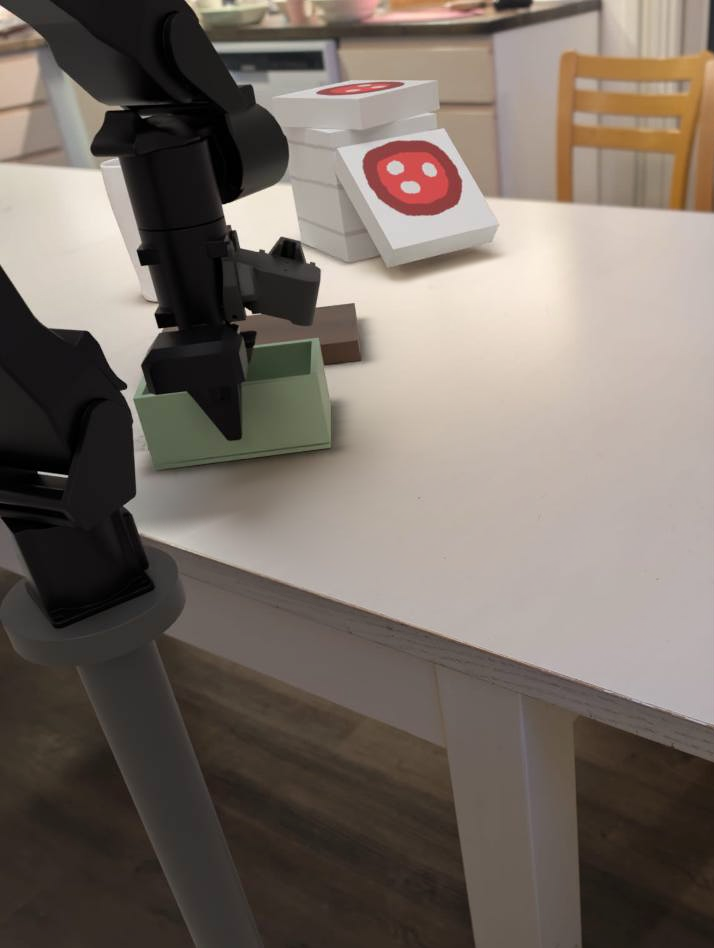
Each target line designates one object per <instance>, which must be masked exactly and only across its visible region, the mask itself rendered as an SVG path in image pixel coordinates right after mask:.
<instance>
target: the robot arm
mask: <svg viewBox="0 0 714 948" xmlns="http://www.w3.org/2000/svg"><path fill="white" fill-rule="evenodd" d="M0 7H2V8H3V9H5V10H6V11H8V12H9V13H10V14H12V15H13V16H15V17H17V18H18V19H20V20H21V21H23V22H24V23H26V24H27V25H28V26H29V27H31V28H32V29H33V30H34V31H35V32H36V33H37V34H38V35H40V36H41V37H42V38H43V39H44V40H45V42H46V45H47V46H48V49H49V52H50V53H51V56H52V58H53V60H54V62H55V63H56V65H57V66H58V67H59V69H61V70H62V71H63V72H64V73H65V74H66V75H67V76H68V77H69V78H71V80H73V81H74V82H75V84H77V85H78V86H79V87H80V88H82V90H84V91H85V92H86V93H87V94H88V95H89V96H90V97H91V98H92V99H94V100H95V101H97V102H98V103H100V104H102V105H106V106H108V107H120V108H121V109H115V110H114V109H113V110H112V109H111V110H106V111H105V113H104V116H103V122H102V124H101V127H100V128H99V129H98V131H97V132H96V133H95V135H94V137H93V139H92V142H91V144H90V147H89V150H90V153H91V155H92V156H93V157H95V158H119V162H120V166H121V169H122V173H123V177H124V180H125V184H126V187H127V191H128V195H129V198H130V202H131V206H132V209H133V213H134V217H135V220H136V224H137V228H138V231H139V235H140V239H141V242H142V243H141V244H140V246H139V247H138V249H137V250H136V251H137V254H138V258H139V262H140V265H141V266H148V268H149V271H150V275H151V279H152V282H153V286H154V290H155V293H156V297H157V301H158V302H157V304H158V306H157V308H156V309H155V311H154V313H153V316H154V319H155V322H156V327H157V329H158V330H160V329H161V330H162V329H163V328H169V327H178V331H171V332H163V333H161V332H159V333H158V334H157V335H156V337H155V339H154V340H153V341H152V342H151V345H150V346H149V348H148V350H147V352H146V354H145V356H144V358H143V360H142V362H141V364H140V366H141V372H142V374H143V375H144V378H145V381H146V385H147V388H148V391H149V393H150V394H154V395H162V394H171V393H179V392H187V393H188V394H189V395H190V396H191V397H192V398H193V399H194V400H195V402H196V403H197V404H198V405H199V407H201V409H202V410H203V411H204V412H205V414H206V415H207V416H208V417H209V419H210V420H211V421H212V422H213V423H214V425H215V426H216V427H217V428H218V430H219V431H220V432H221V433H222V434H223V436H224V437H225V438H226V439H227V440H228V441H236V440H240V439H241V438H242V383H243V382H245V381H246V377H247V372H248V366H249V364H250V363H251V361H252V356H253V351H254V345H255V342H256V337H257V331H253V330H251V331H242V332H240V328H239V325H236V324H235V323H233V322H236V321H245V320H246V318H247V316H248V314H247V311H246V309H247V310H248V311H249V312H251V315H258V314H264V315H268V316H273V317H277V318H281V319H286V320H289V321H291V323H292V324H295V325H299V326H311V325H313V321H314V315H315V309H316V307H317V304H318V299H319V292H320V286H321V280H322V276H321V275H322V269H321V268H320V267H319V266H317V265H316V262H314V261H310V262H307V259H306V256H305V253H304V250H303V246H302V241H300V240H297V239H293V238H291V237H285V236H280V237H279V239H278V240H277V241H276V242H275V243H274V245H273V246H272V247H271V249H270V251H268V252H266V249H261V248H260V249H259V251H255V250H251V249H246V248H242V247H241V245H240V244H241V243H240V240H239V236H238V232H237V230H236V229H233V228H232V225H231V224H227V221H226V216H225V211H224V208H223V205H227V204H231V203H233V202H236V201H238V200H241V199H244V198H246V197H248V196H252V195H253V194H256V193H258V192H261V191H263V190H266V189H269V188H271V187H274V186H276V185H277V184H278V183H279V182H281V180H282V179H283V178H284V176H285V175H286V172H287V169H288V162H289V146H288V141H287V137H286V136H285V135H284V133H283V131H282V129H281V127H280V125H279V123H278V122H277V120H276V119H275V117H274V114H273V113H271V112H270V111H269V110H268V109H267V108H265V107H264V106H263V105H261V104H259V103H258V102H257V100H256V94H255V89H254V85H252V83H247V84H238V83H237V82H236V80H235V79H234V77H233V76H232V74H231V72H230V70H229V69H228V68H227V66H226V64H225V63H224V61H223V59H222V58H221V56H220V54H219V53H218V51H217V50H216V48H215V46H214V44H213V43H212V41H211V39H210V38H209V36H208V35H207V33H206V31H205V30H204V29H203V27H202V25H201V24H200V19H199V17H198V16H197V14H196V12H195V10H194V9H193V7H191V5H190V4H189V3H188V2H187V1H186V0H0ZM143 375H142V376H143ZM127 389H128V384H127V383H126V382H125V381H123V380H122V379H121V378H120V377H119V376H118V375H117V374H116V373H115V371H114V370H113V368H111V365H110V363H109V362H108V360H107V357H106V355H105V353H104V351H103V348H102V345H101V344H100V342H99V341H98V340H97V339H96V338H95V337H94V336H93V334H92V333H91V332H90V331H88V330H82V329H68V328H54V327H47V326H46V325H45V324H43V322H41V321H40V320H39V319H38V318H37V317H36V316H35V314H34V313H33V312H32V309H31V308H30V307H29V305H28V304H27V302H26V301H25V300H24V297H23V296H22V295H21V294H20V292H19V291H18V289H17V288H16V286H15V284H14V283H13V281H12V280H11V278H10V277H9V275H8V273H6V271H5V269H4V268H3V266H2V265H1V264H0V521H1V524H2V526H3V528H4V530H5V533H6V535H7V538H8V539H9V543H10V544H11V546H12V548H13V549H12V550H13V552H14V553H15V556H16V558H17V560H18V562H19V565H20V568H21V569H22V572H23V574H24V577H25V576H26V579H27V582H26V583H25V587H26V590H27V592H28V593H29V594H30V596H31V597H32V599H33V600H34V601H35V603H36V604H37V605H38V607H39V608H40V610H41V611H42V612H43V614H44V615H45V617H46V618H47V619H48V621H49V622H50V623H51V625H52V626H53V627H54V628H55V629H61V628H64V627H67V626H69V625H71V624H74V623H76V622H79V621H81V620H83V619H86V618H88V617H91V616H93V615H96V614H98V613H100V612H103V611H105V610H108V609H110V608H112V607H115V606H117V605H120V604H122V603H125V602H127V601H129V600H132V599H134V598H137V597H139V596H141V595H144V594H146V593H149V592H151V591H153V590H154V589H155V586H154V583H153V580H152V579H151V578H150V577H149V576H148V575H147V574H146V573H145V572H144V571H145V570H147V569H148V567H149V562H148V559H147V556H146V554H145V551H144V548H143V545H144V544H143V543H142V539H141V536H140V533H139V530H138V527H137V523H136V522H135V518H134V515H133V513H131V511H129V510H128V509H127V508H126V507H125V505H127V504H128V503H129V502H130V501H132V500H133V499H135V498H136V496H137V479H136V461H135V459H136V458H135V444H134V443H135V441H134V429H133V425H134V417H133V414H132V410H131V408H130V405H129V404H128V401H127V399H126V397H125V396H124V394H123V393H122V392H123V391H126V390H127ZM43 473H46V474H43ZM50 474H54V475H50ZM59 475H62V476H59ZM65 476H67V477H65Z"/></svg>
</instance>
